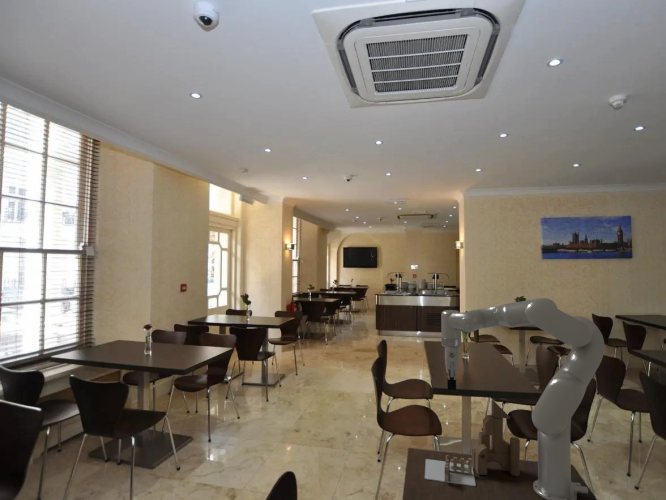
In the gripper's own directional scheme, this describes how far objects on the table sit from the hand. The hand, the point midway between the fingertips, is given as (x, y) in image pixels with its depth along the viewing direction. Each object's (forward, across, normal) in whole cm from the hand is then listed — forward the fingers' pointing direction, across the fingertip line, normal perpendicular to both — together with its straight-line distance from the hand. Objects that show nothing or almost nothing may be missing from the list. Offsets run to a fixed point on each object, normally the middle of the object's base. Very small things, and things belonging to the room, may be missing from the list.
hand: (451, 389), depth 151 cm
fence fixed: (+27, -10, -3) cm, 29 cm away
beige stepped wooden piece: (+27, -14, +2) cm, 30 cm away
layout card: (+27, -10, +2) cm, 29 cm away
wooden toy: (+27, -5, -15) cm, 31 cm away
